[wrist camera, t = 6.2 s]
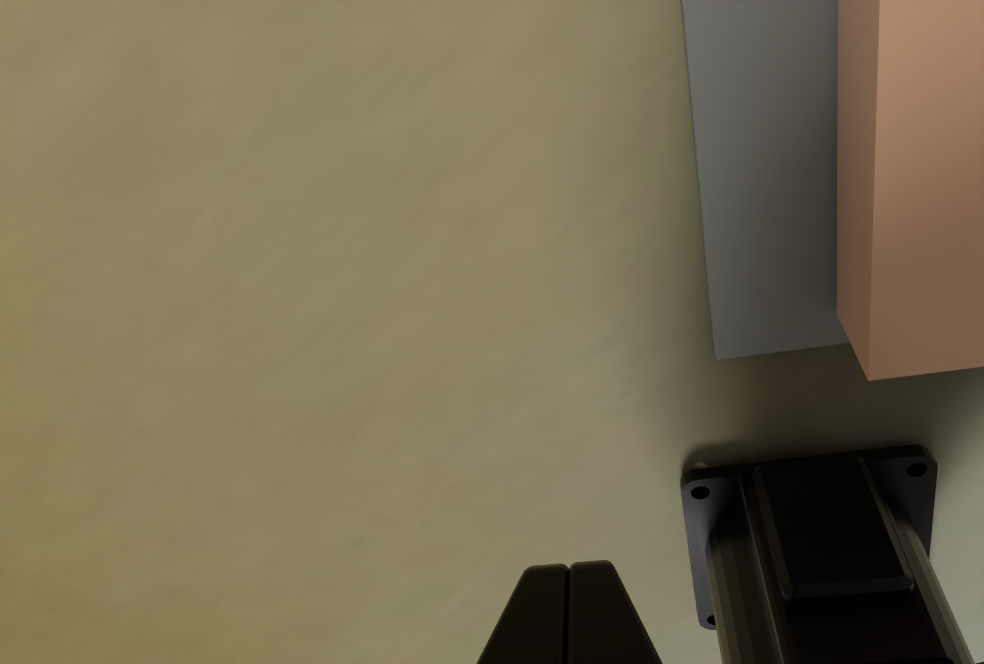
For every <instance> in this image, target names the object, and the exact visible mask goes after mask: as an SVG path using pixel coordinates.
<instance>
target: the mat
mask: <svg viewBox="0 0 984 664" xmlns="http://www.w3.org/2000/svg"><path fill="white" fill-rule="evenodd" d="M681 9H682V19H683V30H684V41H685V51H686V62H687V72H688V83H689V94H690V104H691V115H692V126H693V136H694V147H695V157H696V168H697V179H698V189H699V200H700V210H701V221H702V232H703V242H704V253H705V264H706V274H707V285H708V295H709V306H710V317H711V327H712V338H713V349H714V354H715V358H716V360H723V359H730V358H738V357H746V356H753V355H761V354H768V353H776V352H783V351H791V350H799V349H806V348H814V347H821V346H829V345H837V344H844V343H850V341H849V339H848V337H847V335H846V332H845V330H844V328H843V326H842V324H841V322H840V320H839V317H838V315H837V105H838V0H681Z"/></svg>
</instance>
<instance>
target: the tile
mask: <svg viewBox="0 0 984 664" xmlns="http://www.w3.org/2000/svg"><path fill="white" fill-rule="evenodd" d="M837 315H838V317H839V320H840V322H841V324H842V326H843V328H844V330H845V332H846V335H847V337H848V339H849V341H850V343H851V345H852V347H853V350H854V352H855V354H856V356H857V358H858V360H859V362H860V365H861V367H862V369H863V371H864V373H865V375H866V377H867V380H868V381H872V380H880V379H888V378H896V377H904V376H912V375H920V374H928V373H936V372H944V371H952V370H960V369H968V368H977V367H984V0H838V105H837Z"/></svg>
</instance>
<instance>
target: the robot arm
mask: <svg viewBox="0 0 984 664" xmlns="http://www.w3.org/2000/svg"><path fill="white" fill-rule="evenodd" d="M915 463H918V464H917V465H914V466H910V465H912V464H915ZM936 479H937V463H936V461H935V459H934V457H933V455H932V453H931V451H930V450H929V449H928V448H926V447H924V446H921V445H910V446H901V447H892V448H883V449H874V450H865V451H856V452H847V453H838V454H829V455H820V456H810V457H801V458H792V459H783V460H774V461H765V462H756V463H747V464H738V465H729V466H720V467H711V468H702V469H695V470H691V471H689V472H687V473H686V474H684V475H683V477H682V478H681V480H680V489H681V496H682V504H683V511H684V518H685V526H686V533H687V540H688V548H689V555H690V562H691V570H692V577H693V584H694V592H695V599H696V607H697V613H698V620H699V623H700V625H701V626H703V627H704V628H706V629H709V630H717V635H718V641H719V646H720V652H721V658H722V664H975V663H974V661H973V659H972V656H971V654H970V652H969V650H968V647H967V645H966V643H965V640H964V638H963V636H962V634H961V631H960V629H959V627H958V625H957V622H956V620H955V618H954V615H953V613H952V611H951V609H950V606H949V604H948V602H947V600H946V597H945V595H944V593H943V590H942V588H941V586H940V584H939V581H938V579H937V577H936V575H935V572H934V570H933V568H932V565H931V563H930V561H929V553H930V542H931V532H932V521H933V510H934V500H935V489H936ZM698 486H705V487H704V488H701V489H694V488H695V487H698ZM477 664H662V662H661V660H660V658H659V656H658V654H657V652H656V650H655V648H654V646H653V643H652V641H651V639H650V637H649V635H648V633H647V631H646V629H645V627H644V625H643V623H642V621H641V619H640V617H639V615H638V613H637V611H636V609H635V607H634V605H633V603H632V601H631V599H630V597H629V595H628V593H627V591H626V589H625V587H624V585H623V583H622V581H621V579H620V577H619V575H618V573H617V571H616V569H615V567H614V566H613V564H612V563H611V562H609V561H607V560H598V561H586V562H576V563H573V564H572V565H571V566H570V568H568V567H567V566H566V565H564V564H549V565H537V566H531V567H529V568H527V569H526V570H525V571H524V572H523V574H522V576H521V578H520V580H519V581H518V583H517V585H516V587H515V589H514V591H513V593H512V595H511V597H510V599H509V601H508V603H507V605H506V607H505V609H504V611H503V613H502V615H501V617H500V619H499V621H498V623H497V624H496V626H495V628H494V630H493V632H492V634H491V636H490V638H489V640H488V642H487V644H486V646H485V648H484V650H483V652H482V654H481V656H480V658H479V660H478V662H477ZM977 664H984V662H981V663H977Z"/></svg>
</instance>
